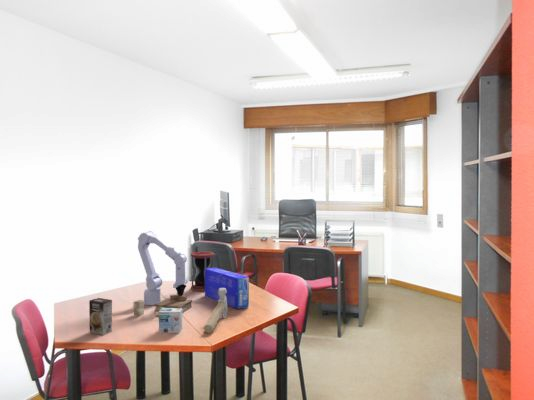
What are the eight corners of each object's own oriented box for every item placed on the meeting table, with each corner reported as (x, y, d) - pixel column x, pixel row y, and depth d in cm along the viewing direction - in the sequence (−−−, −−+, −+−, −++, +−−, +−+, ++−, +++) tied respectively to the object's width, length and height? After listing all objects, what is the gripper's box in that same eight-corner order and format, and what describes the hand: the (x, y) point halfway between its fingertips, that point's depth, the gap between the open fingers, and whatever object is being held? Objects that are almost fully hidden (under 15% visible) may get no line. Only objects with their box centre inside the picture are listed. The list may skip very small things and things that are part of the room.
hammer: (211, 315, 214) (227, 287, 242) (202, 315, 215) (219, 287, 243) (213, 344, 218) (228, 313, 247) (204, 343, 219) (220, 312, 247)
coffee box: (88, 332, 217) (88, 300, 216) (98, 328, 223) (98, 297, 222) (103, 335, 213) (102, 302, 213) (112, 331, 219) (112, 299, 218)
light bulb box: (158, 333, 217) (158, 311, 216) (161, 328, 224) (161, 307, 223) (180, 333, 217) (180, 311, 216) (182, 328, 224) (182, 307, 223)
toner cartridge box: (249, 307, 262) (249, 276, 262) (237, 309, 257) (237, 278, 257) (215, 294, 293) (215, 266, 292) (204, 296, 288) (204, 268, 287)
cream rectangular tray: (148, 314, 247) (148, 309, 247) (167, 304, 267) (167, 299, 267) (174, 317, 242) (174, 311, 242) (191, 307, 262) (191, 302, 262)
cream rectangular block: (133, 315, 245) (133, 301, 244) (137, 313, 249) (137, 299, 248) (139, 316, 244) (139, 302, 243) (143, 314, 247) (143, 300, 247)
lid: (154, 306, 253) (154, 300, 253) (167, 299, 267) (167, 293, 267) (180, 308, 248) (180, 302, 248) (192, 301, 262) (192, 296, 262)
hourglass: (210, 285, 318) (210, 250, 317) (217, 290, 303) (217, 254, 302) (188, 287, 311) (188, 252, 310) (194, 292, 296) (194, 255, 295)
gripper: (180, 277, 257) (180, 300, 257) (191, 272, 271) (191, 294, 271) (169, 276, 259) (170, 299, 259) (181, 272, 273) (181, 293, 273)
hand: (180, 297), depth 266 cm, fingers closed
